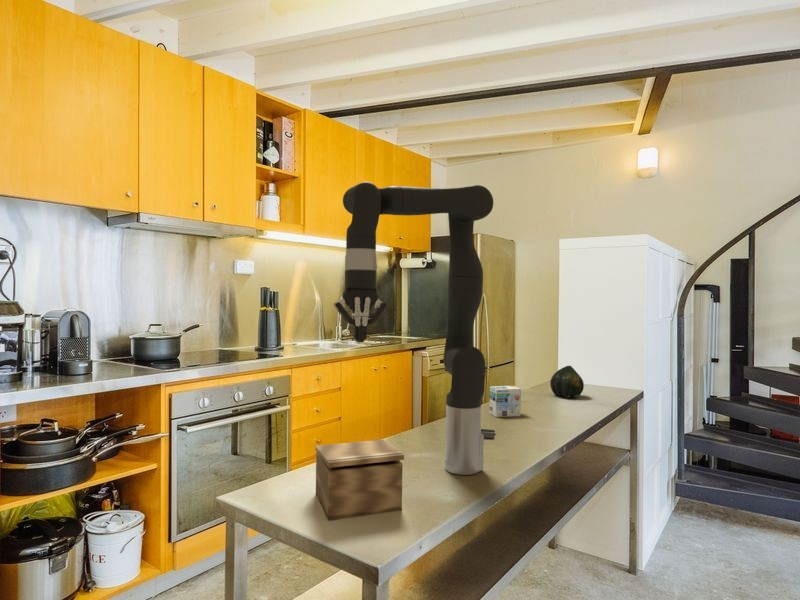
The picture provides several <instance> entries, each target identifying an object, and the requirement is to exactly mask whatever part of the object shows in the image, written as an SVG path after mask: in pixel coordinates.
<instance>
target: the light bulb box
mask: <svg viewBox="0 0 800 600" xmlns="http://www.w3.org/2000/svg"><path fill="white" fill-rule="evenodd" d="M521 402H522V389H521V388H520V387H517V386H515V385H497V386H496V385H495V386H489V410H488V411H489V414H491V416H494V417H496V418H501V417H504V418H505V417H521V404H522V403H521Z"/></svg>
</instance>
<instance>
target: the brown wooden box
mask: <svg viewBox="0 0 800 600" xmlns="http://www.w3.org/2000/svg"><path fill="white" fill-rule="evenodd" d="M315 496H316V498H317V500H318V503H319V504H320V506H321V508H322V510H323V513H324V514H325V516H326V518H327V520H328V522H329V521H334V520H335V521H336V520H341V519H348V518H354V517H363V516H369V515H375V514H383V513H389V512H397V511H402V510H403V463H402V461H401V460H396V461H387V462H377V463H368V464H359V465H350V466H341V467H332V468H328V466H327V465H326V464H325V462H324V461H323V460H322V458H321V457H320V456H319V454H318V453H317V452H316V451H315Z"/></svg>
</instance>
